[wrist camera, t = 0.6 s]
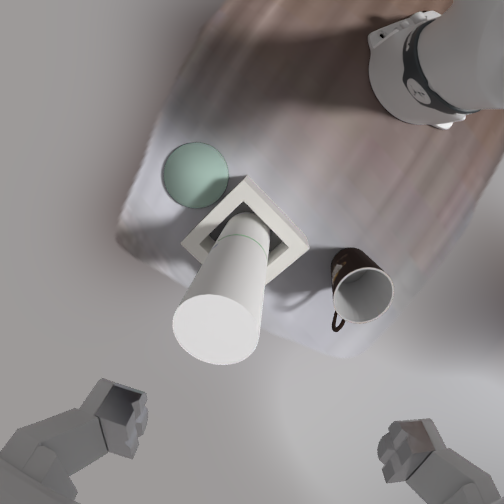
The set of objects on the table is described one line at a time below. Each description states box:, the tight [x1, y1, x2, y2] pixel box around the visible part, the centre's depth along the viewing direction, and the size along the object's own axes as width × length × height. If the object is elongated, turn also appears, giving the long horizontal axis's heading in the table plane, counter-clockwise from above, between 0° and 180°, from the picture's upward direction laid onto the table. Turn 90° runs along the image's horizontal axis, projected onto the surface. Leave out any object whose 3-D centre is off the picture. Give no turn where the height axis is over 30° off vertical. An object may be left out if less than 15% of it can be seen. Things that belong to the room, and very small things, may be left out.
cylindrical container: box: [173, 212, 270, 365], centre depth 35 cm, size 7×7×25 cm
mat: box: [164, 143, 229, 208], centre depth 44 cm, size 10×10×1 cm
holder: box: [180, 175, 310, 285], centre depth 45 cm, size 13×13×5 cm
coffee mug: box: [331, 248, 394, 332], centre depth 43 cm, size 12×9×10 cm
